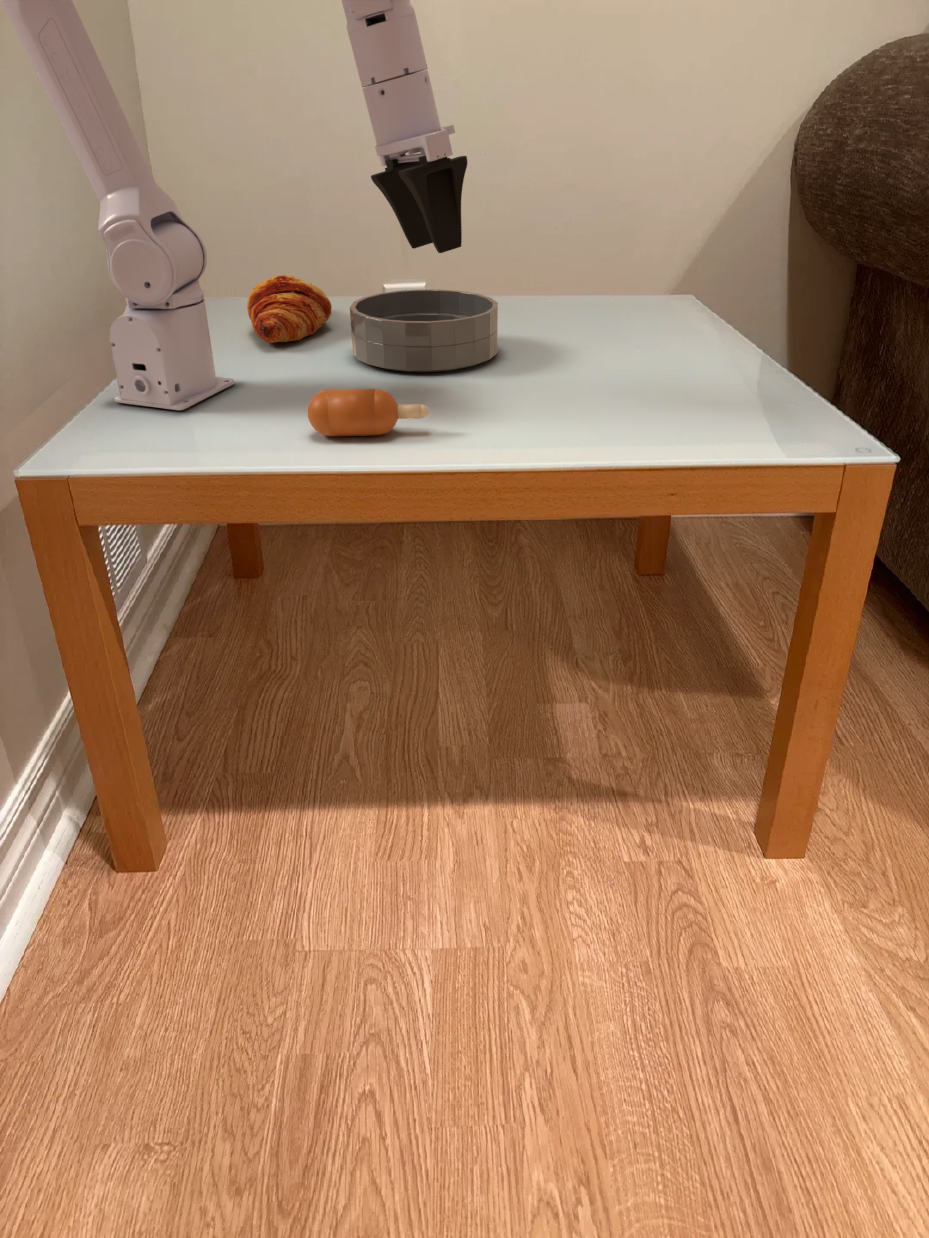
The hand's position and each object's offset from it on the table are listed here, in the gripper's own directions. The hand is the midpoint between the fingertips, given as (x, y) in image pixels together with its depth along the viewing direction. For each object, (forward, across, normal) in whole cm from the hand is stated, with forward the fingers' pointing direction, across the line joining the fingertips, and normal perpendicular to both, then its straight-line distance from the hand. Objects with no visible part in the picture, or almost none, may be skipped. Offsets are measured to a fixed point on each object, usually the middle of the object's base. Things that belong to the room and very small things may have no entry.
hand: (435, 247), depth 84 cm
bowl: (+13, +16, -1) cm, 21 cm away
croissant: (+9, +33, +10) cm, 36 cm away
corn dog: (+12, -6, +12) cm, 18 cm away
